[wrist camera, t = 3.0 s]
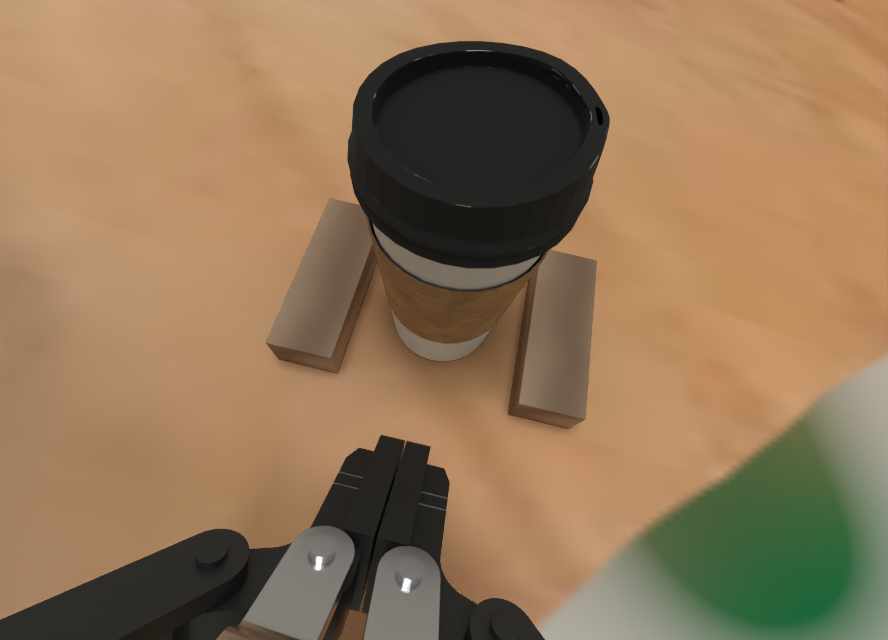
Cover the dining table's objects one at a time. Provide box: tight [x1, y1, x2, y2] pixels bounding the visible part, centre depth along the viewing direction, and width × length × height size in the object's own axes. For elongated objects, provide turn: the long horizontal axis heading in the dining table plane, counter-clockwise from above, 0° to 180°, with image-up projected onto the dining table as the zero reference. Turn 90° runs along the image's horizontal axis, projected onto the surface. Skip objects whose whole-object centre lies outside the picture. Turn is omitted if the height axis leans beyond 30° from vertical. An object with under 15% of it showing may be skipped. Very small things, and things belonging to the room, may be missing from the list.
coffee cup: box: [348, 41, 610, 361], centre depth 19 cm, size 8×8×15 cm
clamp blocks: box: [266, 198, 597, 429], centre depth 25 cm, size 17×10×2 cm, turn 78°
